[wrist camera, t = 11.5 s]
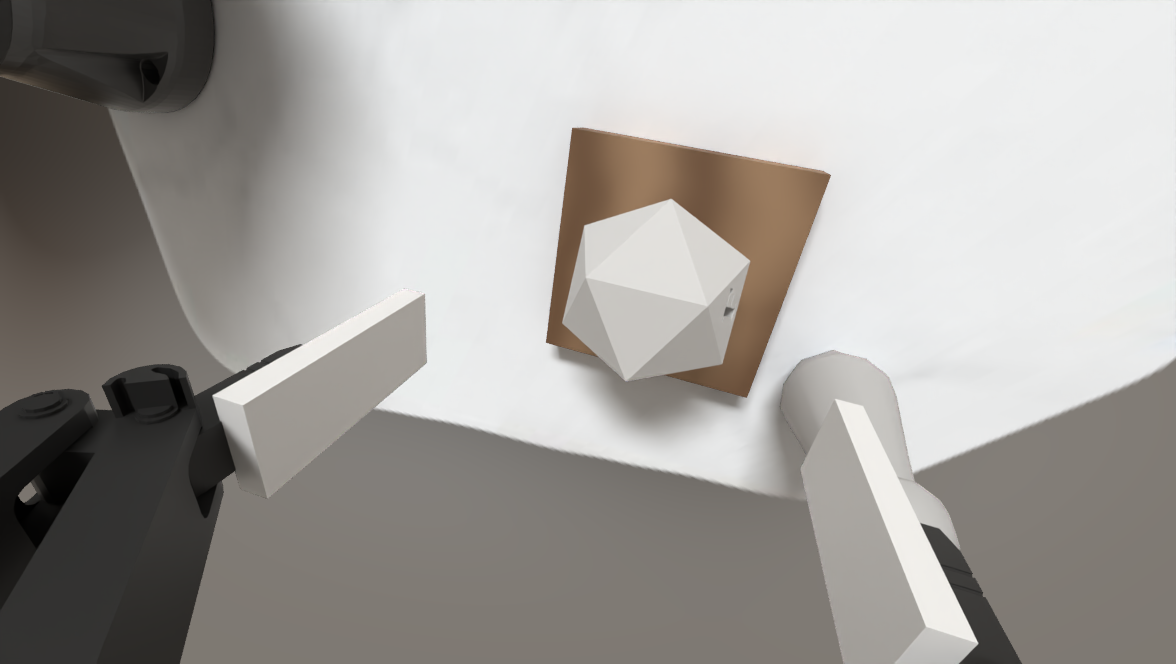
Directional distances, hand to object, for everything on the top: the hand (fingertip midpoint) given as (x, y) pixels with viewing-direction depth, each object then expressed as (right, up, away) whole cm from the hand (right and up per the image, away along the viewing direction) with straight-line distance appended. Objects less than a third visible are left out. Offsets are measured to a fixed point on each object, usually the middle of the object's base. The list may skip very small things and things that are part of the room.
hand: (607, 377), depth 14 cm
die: (+4, +5, +11) cm, 13 cm away
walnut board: (+4, +6, +13) cm, 15 cm away
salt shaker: (+14, -1, +13) cm, 20 cm away
